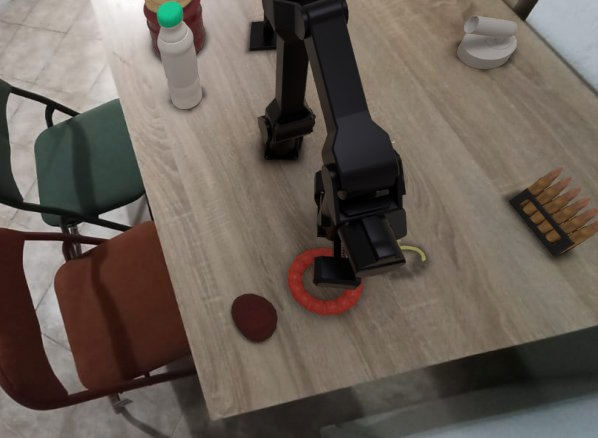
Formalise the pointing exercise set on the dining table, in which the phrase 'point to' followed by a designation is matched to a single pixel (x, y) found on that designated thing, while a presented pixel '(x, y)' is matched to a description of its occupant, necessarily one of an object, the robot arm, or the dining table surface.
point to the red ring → (306, 299)
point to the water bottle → (178, 56)
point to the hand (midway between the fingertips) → (328, 245)
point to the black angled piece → (262, 36)
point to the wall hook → (487, 42)
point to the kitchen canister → (190, 17)
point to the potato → (254, 316)
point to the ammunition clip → (555, 213)
